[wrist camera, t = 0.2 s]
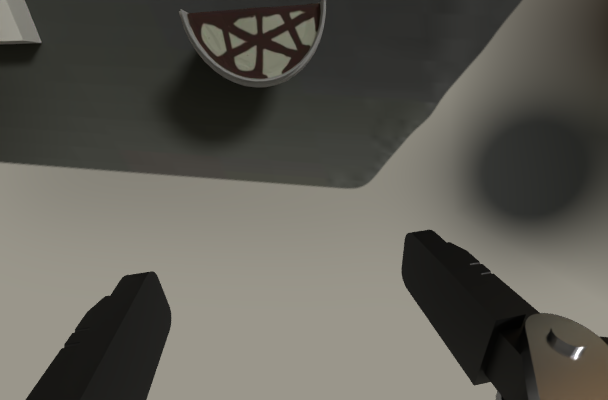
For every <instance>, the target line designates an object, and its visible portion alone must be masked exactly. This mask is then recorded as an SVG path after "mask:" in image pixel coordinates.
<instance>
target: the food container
mask: <svg viewBox="0 0 608 400" xmlns="http://www.w3.org/2000/svg"><path fill="white" fill-rule="evenodd" d="M180 10H181V11H179V14H180V17H181V20H182V24H183V27H184V29H185V31H186V34H187V36H188V38H189V40H190V42H191V43H192V45H193V47H194V48H195V50H196V51H197V53H198V54H199V55H200V56H201V58H202V59H203V60H204V61H205V62H206V63H207V64H208V65H209V66H210V67H211V68H212V69H213V70H214V71H216V72H217V73H218V74H220V75H221V76H223V77H224V78H226V79H228V80H230V81H232V82H234V83H237V84H240V85H244V86H249V87H269V86H274V85H278V84H280V83H283V82H285V81H287V80H289V79H290V78H292V77H294V76H295V75H296V74H297V73H299V72H300V71H301V70H302V69H303V68H304V67H305V66H306V64H307V63H308V62H309V61H310V59H311V58H312V56H313V54H314V53H315V51H316V49H317V46H318V44H319V42H320V39H321V35H322V32H323V28H324V21H325V15H326V1H325V0H322V1H320V2H319V3H318V4H307V5H296V6H281V7H261V8H248V9H238V10H226V11H212V12H200V13H187V12H185V11H184V10H182V9H180Z"/></svg>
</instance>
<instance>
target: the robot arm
mask: <svg viewBox="0 0 608 400" xmlns="http://www.w3.org/2000/svg"><path fill="white" fill-rule="evenodd" d="M402 277H403V281H404V283H405V286H406V288H407V289H408V291H409V292H410V294H411V295H412V297H413V298H414V300H415V301H416V302H417V304H418V305H419V306H420V308H421V310H422V311H423V312H424V314H425V315H426V317H427V318H428V319H429V321H430V323H431V324H432V325H433V327H434V328H435V330H436V331H437V333H438V334H439V336H440V337H441V338H442V340H443V341H444V343H445V344H446V346H447V347H448V349H449V350H450V351H451V353H452V354H453V356H454V357H455V359H456V360H457V362H458V363H459V364H460V366H461V367H462V369H463V370H464V371H465V373H466V374H467V376H468V377H469V378H470V380H471V382H472V383H473V385H478V384H483V383H487V382H491V383H492V384H493V385H494V386H495V388H496V389H497V390H498V391H497V394H496V400H608V337H599V336H597V335H596V334H595V333H594V332H592V331H591V330H589V329H588V328H586V327H584V326H583V325H581V324H579V323H577V322H575V321H573V320H570V319H568V318H565V317H562V316H559V315H554V314H548V313H539V312H538V311H537V310H536V309H534V308H533V307H532V306H531V305H530V304H528V303H527V302H526V301H525V300H524V299H522V297H520V296H519V295H518V294H517V293H516V292H515V291H513V290H512V289H511V288H510V287H509V286H507V285H506V284H505V283H504V282H503V281H501V280H500V279H499V278H498V277H497V276H496V275H495V274H491V272H490V270H489V269H488V268H486V267H485V266H484V265H483V264H480V263H479V261H478V260H477V259H475V258H474V257H473V256H472V255H471V254H470V253H469V252H468V251H466V250H464V249H462V248H460V247H458V246H456V245H454V244H452V243H450V242H448V243H446V242H445V241H444V240H443V239H442V238H441V237H440V236H439V235H437V234H436V233H435V232H434V231H432V230H425V231H418V232H412V233H408V234H407V235H406V237H405V243H404V252H403V261H402ZM170 326H171V311H170V307H169V304H168V302H167V299H166V297H165V294H164V292H163V289H162V287H161V284H160V281H159V279H158V277H157V275H156V273H155V272H146V273H139V274H133V275H126V276H124V277H123V278H122V279H121V280H120V282H119V283H118V285H117V286H116V288H115V289H114V291H113V293H112V294H111V296H105V297H104V298H103V299H102V300H100V301H99V302H98V303H97V304H96V305H95V306H94V307H92V308H91V309H90V310H89V311H88V312H87V313H86V315H85V316H84V317H83V319H82V320H81V322H80V323H79V324H78V326H77V327H76V329H75V333H72V335H71V336H70V337H69V339H68V340H67V342H66V343H65V347H64V348H62V349H61V350H60V351H59V353H58V355H57V356H56V357H55V359H54V360H53V362H52V363H51V364H50V366H49V367H48V369H47V370H46V371H45V373H44V374H43V376H42V377H41V379H40V380H39V381H38V383H37V384H36V386H35V387H34V388H33V390H32V391H31V393H30V394H29V396H28V397H27V399H26V400H146V399H147V396H148V393H149V390H150V387H151V384H152V381H153V378H154V375H155V372H156V369H157V366H158V363H159V360H160V357H161V354H162V351H163V348H164V345H165V342H166V339H167V336H168V333H169V330H170Z"/></svg>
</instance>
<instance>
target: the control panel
mask: <svg viewBox="0 0 608 400" xmlns="http://www.w3.org/2000/svg"><path fill="white" fill-rule="evenodd" d="M28 43H42V42H41V40H40V37H39V35H38V32H37V30H36V27H35V25H34V22H33V20H32V17H31V15H30V12H29V10H28V7H27V5H26V2H25V0H0V44H28Z"/></svg>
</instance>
